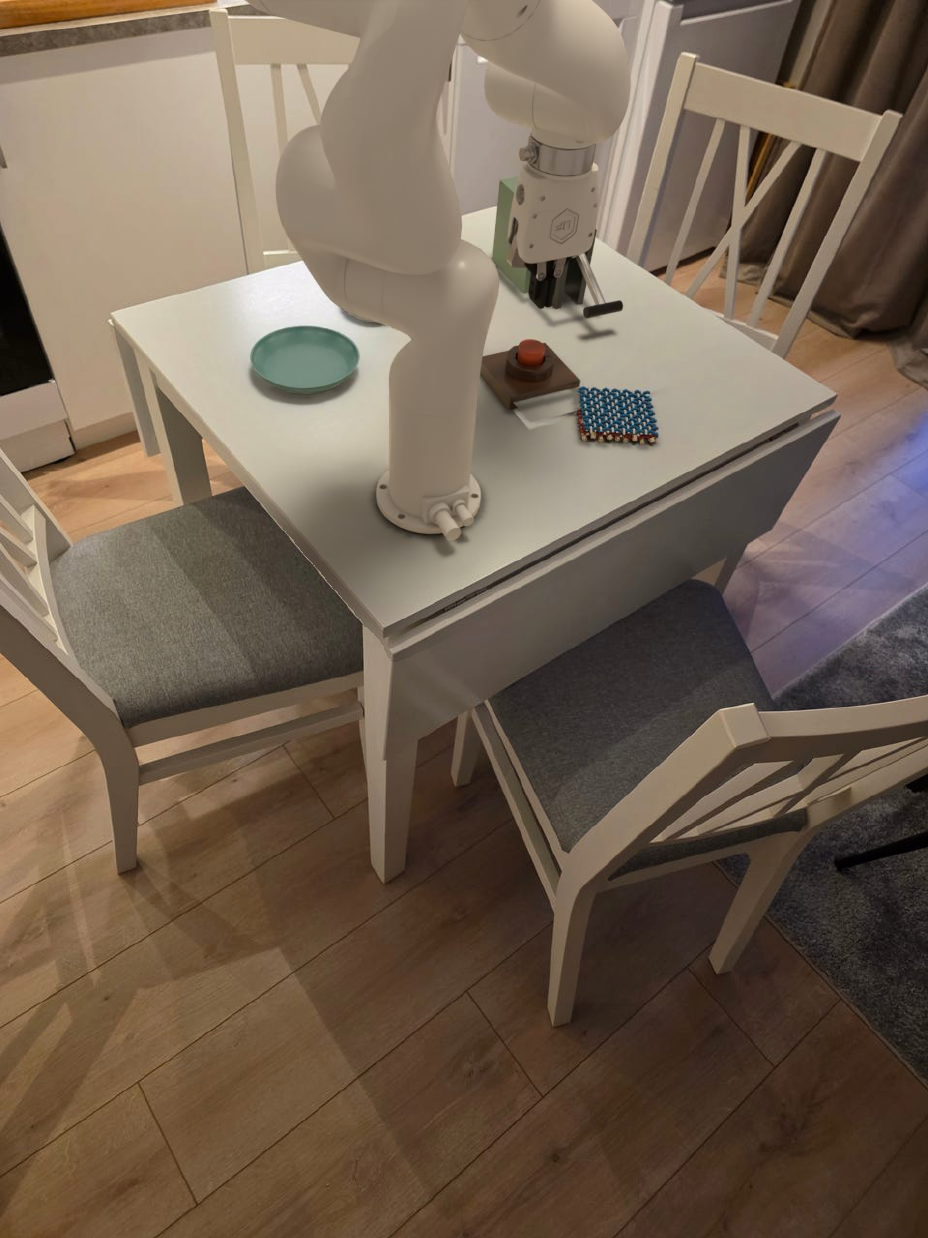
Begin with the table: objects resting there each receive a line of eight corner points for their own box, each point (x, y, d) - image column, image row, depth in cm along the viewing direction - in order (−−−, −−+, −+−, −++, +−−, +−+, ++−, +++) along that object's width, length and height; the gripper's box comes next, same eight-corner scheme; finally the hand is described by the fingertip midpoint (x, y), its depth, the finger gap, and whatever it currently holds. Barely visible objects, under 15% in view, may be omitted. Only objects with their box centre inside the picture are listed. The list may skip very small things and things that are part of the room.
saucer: (230, 366, 113) (227, 349, 111) (315, 330, 120) (314, 313, 118) (297, 417, 107) (295, 400, 105) (381, 375, 114) (381, 359, 112)
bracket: (595, 315, 129) (612, 233, 119) (551, 324, 126) (565, 242, 116) (569, 289, 133) (583, 209, 123) (526, 298, 130) (537, 217, 121)
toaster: (576, 290, 133) (592, 201, 122) (522, 300, 130) (534, 210, 119) (542, 258, 139) (555, 171, 128) (490, 267, 136) (499, 178, 125)
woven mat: (572, 395, 115) (574, 382, 113) (646, 399, 115) (650, 387, 114) (578, 442, 108) (580, 429, 106) (657, 447, 109) (661, 434, 107)
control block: (577, 393, 115) (583, 368, 112) (509, 410, 111) (512, 385, 108) (543, 355, 120) (547, 330, 117) (476, 370, 117) (478, 345, 114)
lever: (618, 314, 122) (625, 305, 119) (584, 322, 120) (591, 312, 117) (583, 231, 123) (589, 221, 121) (548, 237, 121) (554, 226, 119)
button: (547, 363, 113) (550, 350, 111) (525, 369, 112) (526, 355, 110) (535, 349, 115) (537, 336, 113) (512, 354, 113) (514, 341, 112)
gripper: (519, 176, 88) (502, 329, 103) (634, 158, 93) (603, 306, 107) (487, 147, 92) (476, 298, 107) (599, 131, 97) (574, 278, 111)
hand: (539, 302), depth 107 cm, fingers closed
